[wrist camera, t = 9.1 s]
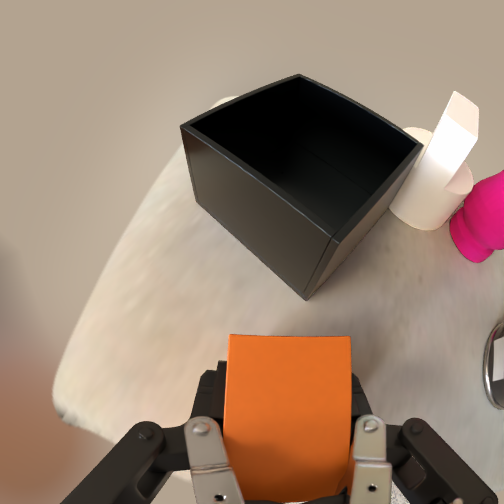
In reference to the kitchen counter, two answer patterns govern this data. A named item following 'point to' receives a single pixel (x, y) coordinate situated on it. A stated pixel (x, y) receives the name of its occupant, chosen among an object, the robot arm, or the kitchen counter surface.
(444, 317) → the kitchen counter surface
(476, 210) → the pepper mill
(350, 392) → the orange rectangular block
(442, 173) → the cylinder with rectangular tab
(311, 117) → the bin
